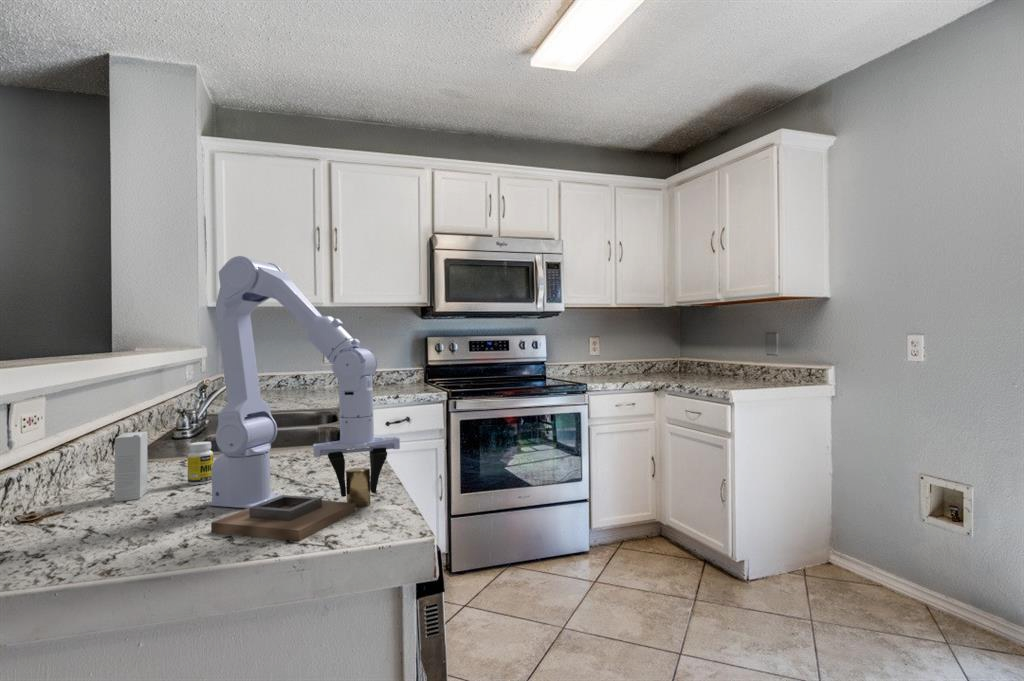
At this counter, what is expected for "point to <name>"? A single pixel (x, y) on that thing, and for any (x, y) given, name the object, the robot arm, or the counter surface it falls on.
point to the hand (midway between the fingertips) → (358, 493)
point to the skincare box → (130, 466)
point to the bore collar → (275, 511)
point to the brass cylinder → (358, 486)
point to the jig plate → (284, 522)
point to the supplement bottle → (200, 463)
